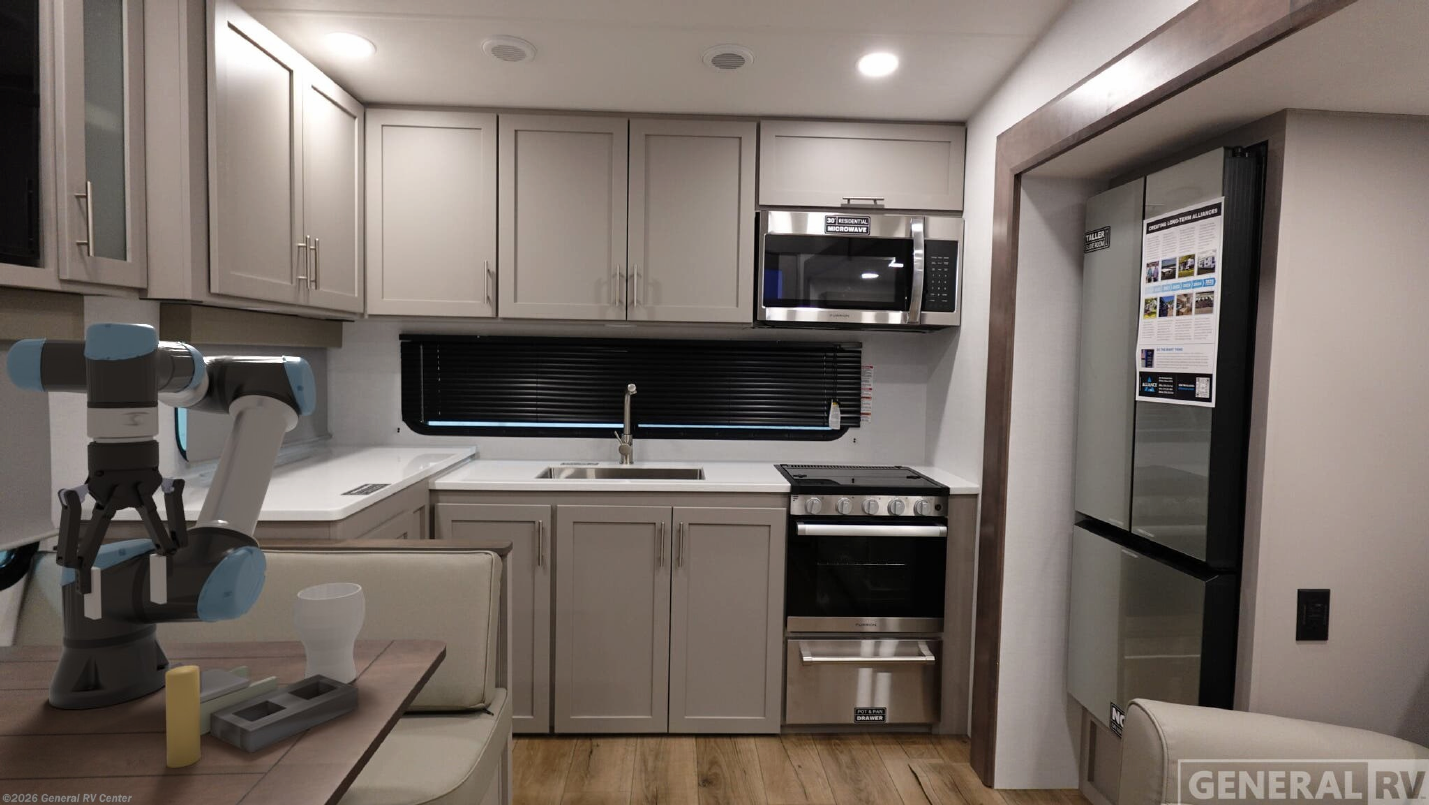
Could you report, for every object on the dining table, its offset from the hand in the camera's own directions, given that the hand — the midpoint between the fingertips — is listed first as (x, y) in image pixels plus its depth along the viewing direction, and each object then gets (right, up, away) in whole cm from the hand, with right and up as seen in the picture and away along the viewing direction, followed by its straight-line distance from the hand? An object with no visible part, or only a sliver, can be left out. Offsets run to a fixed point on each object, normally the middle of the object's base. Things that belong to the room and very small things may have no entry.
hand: (126, 609), depth 101 cm
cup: (+15, -19, +23) cm, 34 cm away
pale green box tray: (+6, -19, +11) cm, 22 cm away
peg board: (+16, -19, +9) cm, 27 cm away
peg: (+9, -19, -2) cm, 22 cm away
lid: (+5, -14, +9) cm, 18 cm away
